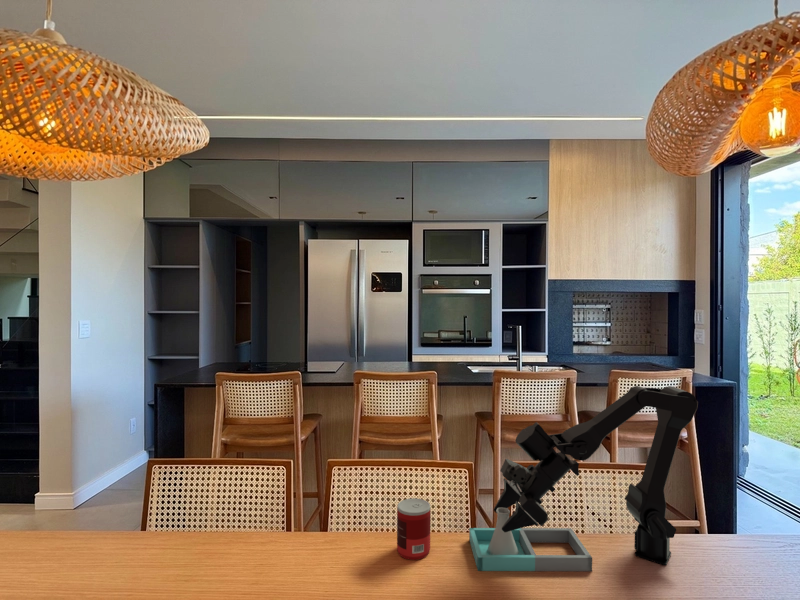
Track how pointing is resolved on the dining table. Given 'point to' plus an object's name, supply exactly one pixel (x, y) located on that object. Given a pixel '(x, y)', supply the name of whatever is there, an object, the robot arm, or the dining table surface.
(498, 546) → the flask
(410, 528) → the canned food
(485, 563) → the tray
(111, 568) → the dining table surface
